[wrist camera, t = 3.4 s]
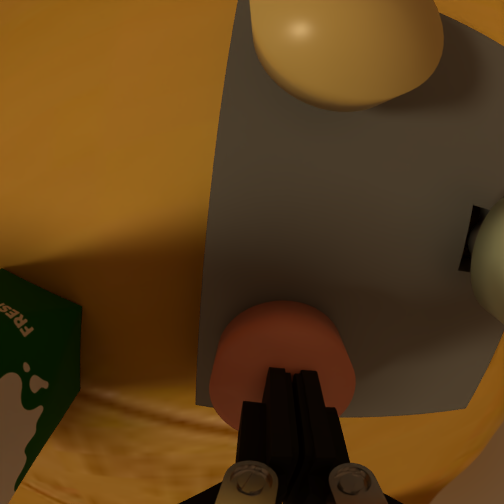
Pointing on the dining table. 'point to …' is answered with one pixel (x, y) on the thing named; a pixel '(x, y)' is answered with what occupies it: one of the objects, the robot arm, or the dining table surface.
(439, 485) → the dining table surface
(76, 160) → the dining table surface
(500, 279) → the pale green ball
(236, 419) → the red rounded lump
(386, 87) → the tan rounded piece
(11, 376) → the milk carton
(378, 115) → the plate
